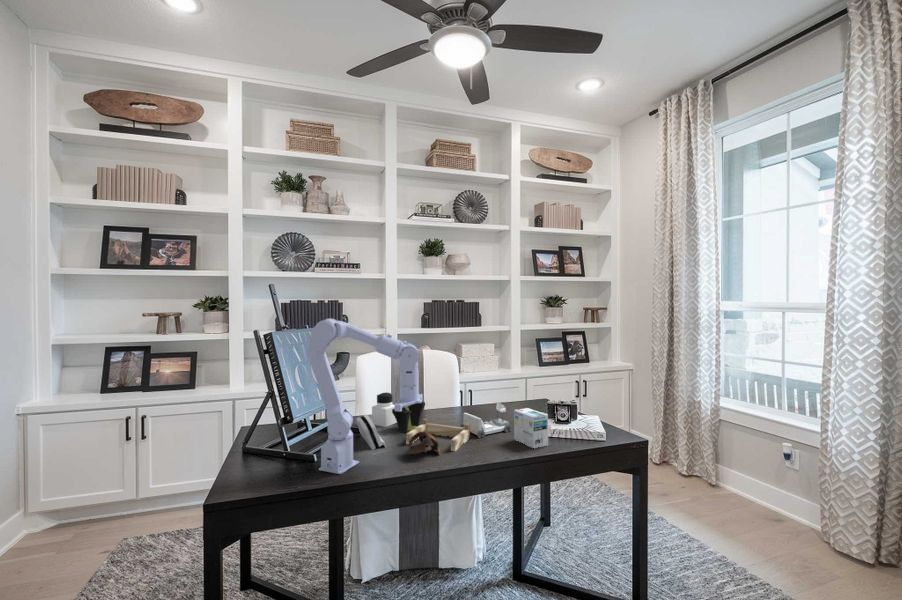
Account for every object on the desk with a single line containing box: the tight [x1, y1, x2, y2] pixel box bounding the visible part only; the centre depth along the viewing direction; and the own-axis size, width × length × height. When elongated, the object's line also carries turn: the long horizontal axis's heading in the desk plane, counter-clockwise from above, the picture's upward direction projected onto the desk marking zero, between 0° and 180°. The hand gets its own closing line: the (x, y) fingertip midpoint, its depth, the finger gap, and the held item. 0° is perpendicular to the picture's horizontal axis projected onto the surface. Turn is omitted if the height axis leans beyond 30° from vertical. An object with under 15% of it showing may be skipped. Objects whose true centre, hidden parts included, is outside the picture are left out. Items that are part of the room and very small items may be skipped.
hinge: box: [355, 414, 387, 450], centre depth 156 cm, size 17×5×10 cm, turn 24°
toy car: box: [459, 401, 512, 439], centre depth 169 cm, size 18×10×12 cm
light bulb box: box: [513, 407, 549, 449], centre depth 155 cm, size 11×7×11 cm, turn 31°
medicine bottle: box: [371, 391, 397, 428], centre depth 177 cm, size 7×7×12 cm
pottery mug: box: [407, 431, 441, 456], centre depth 145 cm, size 12×10×8 cm
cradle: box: [405, 418, 471, 452], centre depth 156 cm, size 14×18×5 cm
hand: (409, 429), depth 136 cm, fingers open, 7 cm apart
